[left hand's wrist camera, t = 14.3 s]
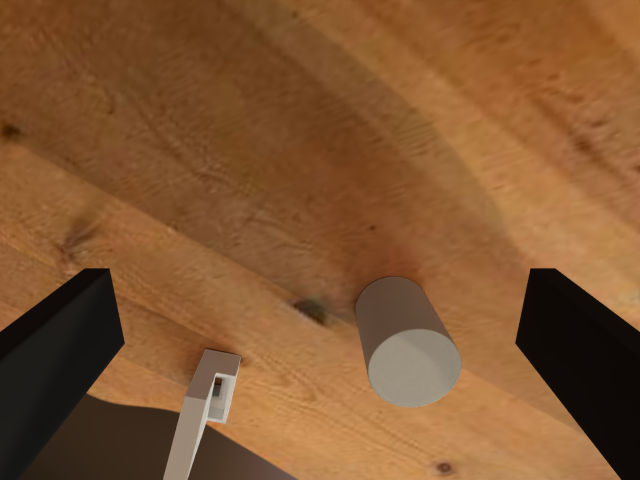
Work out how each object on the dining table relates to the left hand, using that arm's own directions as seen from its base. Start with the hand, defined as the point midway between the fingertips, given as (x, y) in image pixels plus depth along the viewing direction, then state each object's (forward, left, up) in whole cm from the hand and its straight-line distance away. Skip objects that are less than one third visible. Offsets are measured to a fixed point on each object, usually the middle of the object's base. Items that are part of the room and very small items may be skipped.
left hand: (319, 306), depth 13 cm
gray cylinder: (+15, +1, -23) cm, 28 cm away
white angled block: (+14, -18, -23) cm, 32 cm away
